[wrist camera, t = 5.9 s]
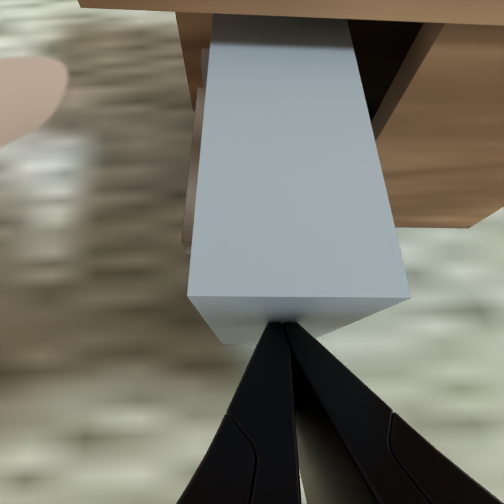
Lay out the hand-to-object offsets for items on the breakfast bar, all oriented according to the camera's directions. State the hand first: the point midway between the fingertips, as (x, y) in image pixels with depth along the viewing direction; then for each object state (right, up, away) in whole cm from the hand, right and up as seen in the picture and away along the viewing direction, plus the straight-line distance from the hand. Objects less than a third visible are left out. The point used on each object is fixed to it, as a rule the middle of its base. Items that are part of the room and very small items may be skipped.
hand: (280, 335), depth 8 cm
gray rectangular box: (0, +5, +9) cm, 11 cm away
